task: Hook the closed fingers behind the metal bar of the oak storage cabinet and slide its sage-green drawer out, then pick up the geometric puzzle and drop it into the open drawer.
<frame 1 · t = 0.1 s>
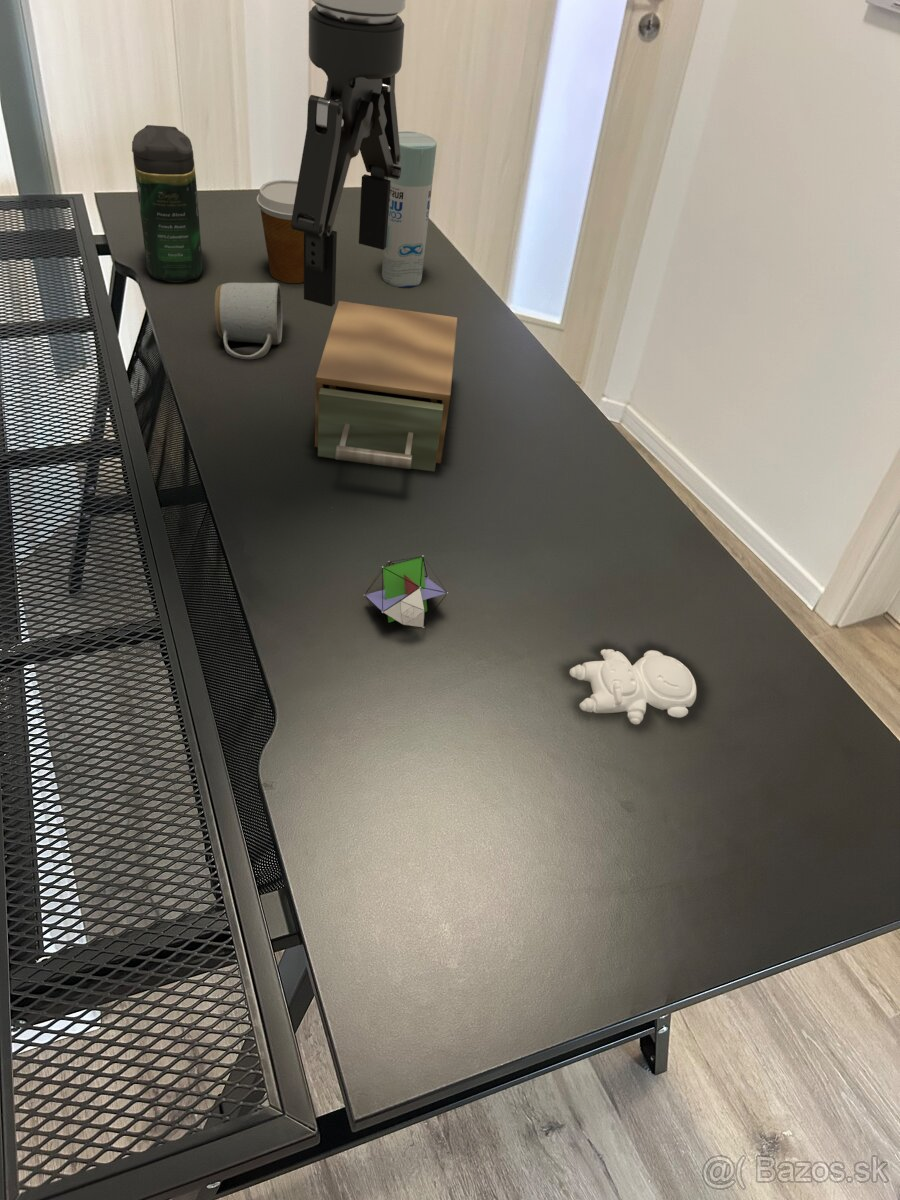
hand: (347, 272, 82), 23 cm above the table, tool pointing down, fingers open, 13 cm apart
coffee jar: (176, 270, 125), on the table
ceramic mug: (252, 345, 113), on the table
geometric puzzle: (402, 618, 83), on the table
disposable coffee cup: (291, 275, 129), on the table
drawer: (383, 407, 98), point 5 cm above the table, slide at 0.5 cm
spray paint can: (401, 279, 132), on the table
cabinet: (385, 419, 105), on the table
astronaut figurine: (629, 691, 80), on the table
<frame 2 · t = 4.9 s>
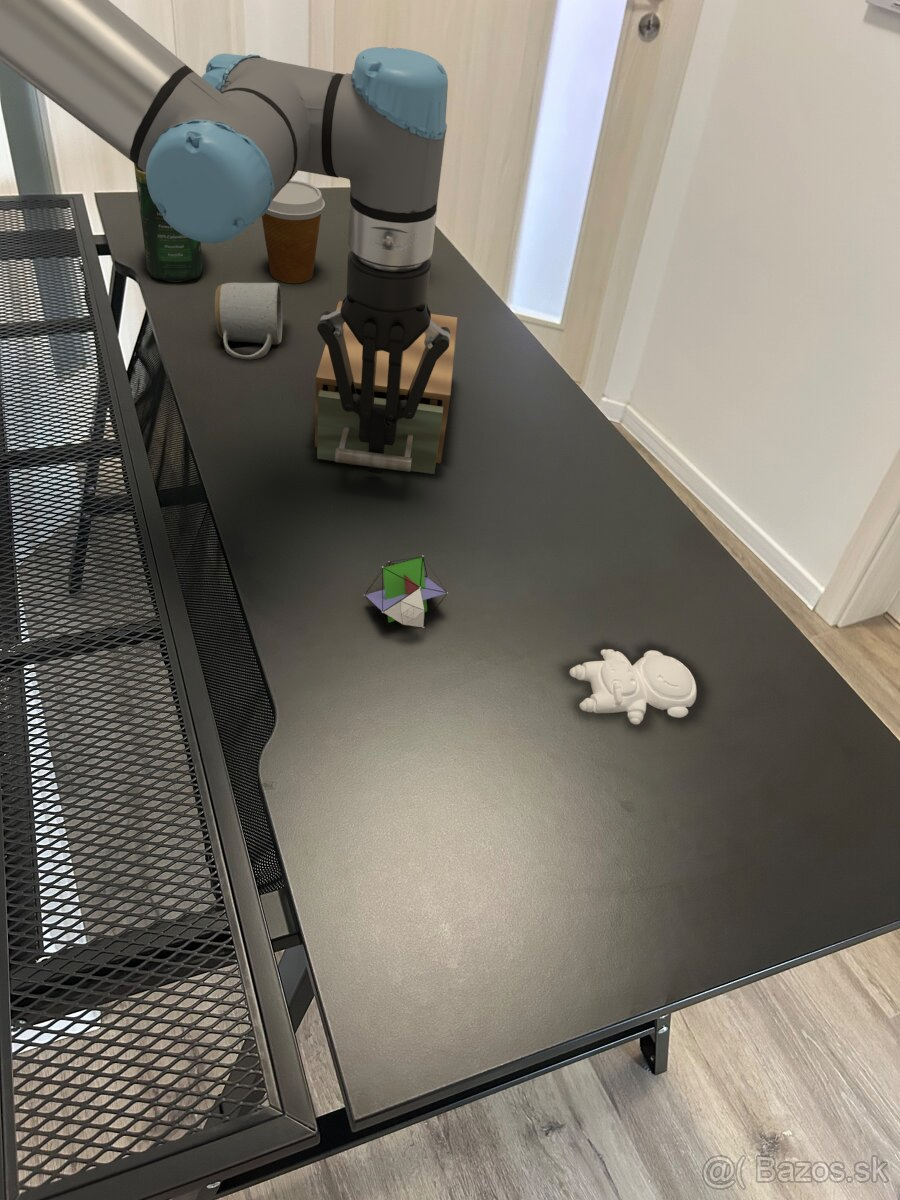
hand: (375, 465, 93), 3 cm above the table, tool pointing down, fingers closed
drawer: (383, 409, 98), point 5 cm above the table, slide at 1.0 cm
everything else where it was.
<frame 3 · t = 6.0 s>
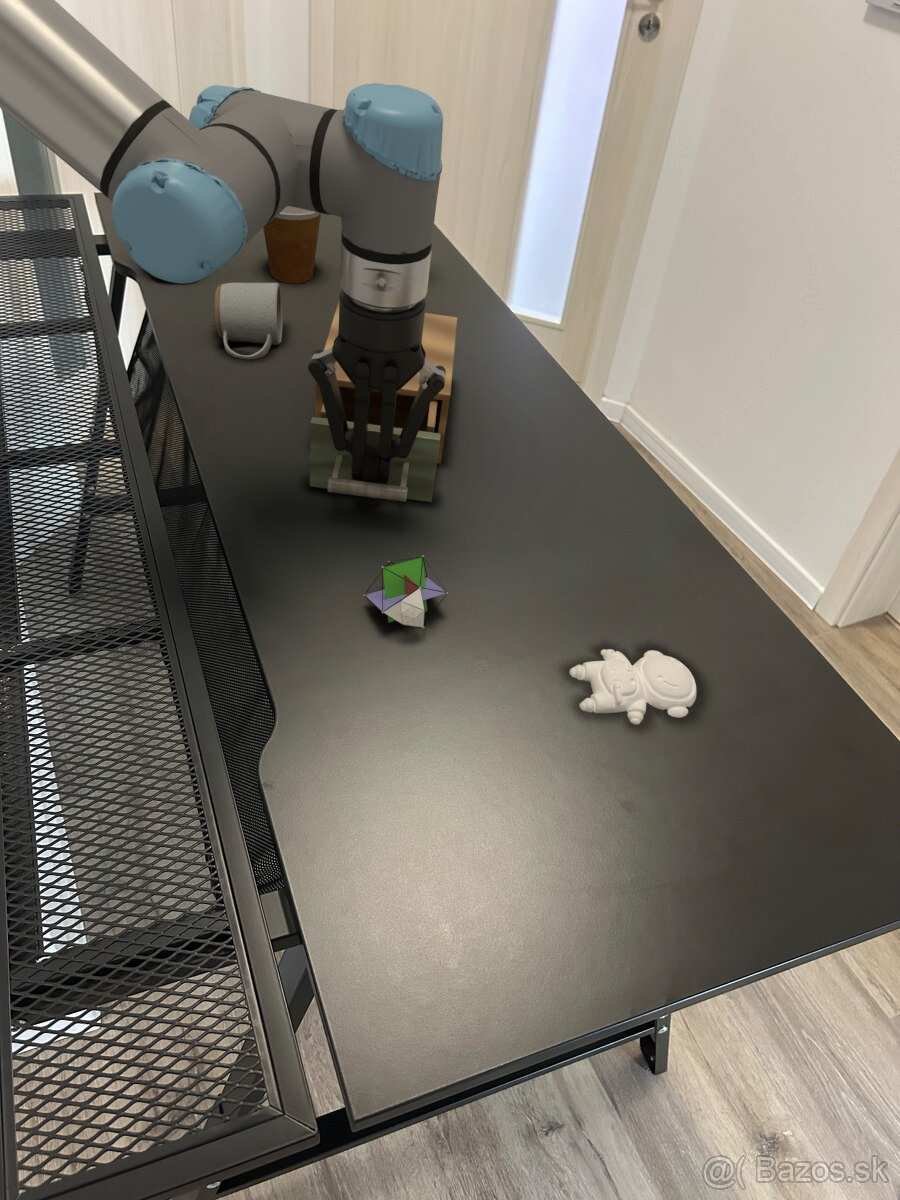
hand: (368, 503, 91), 2 cm above the table, tool pointing down, fingers closed
drawer: (378, 434, 94), point 5 cm above the table, slide at 6.0 cm, touching gripper
everything else where it was.
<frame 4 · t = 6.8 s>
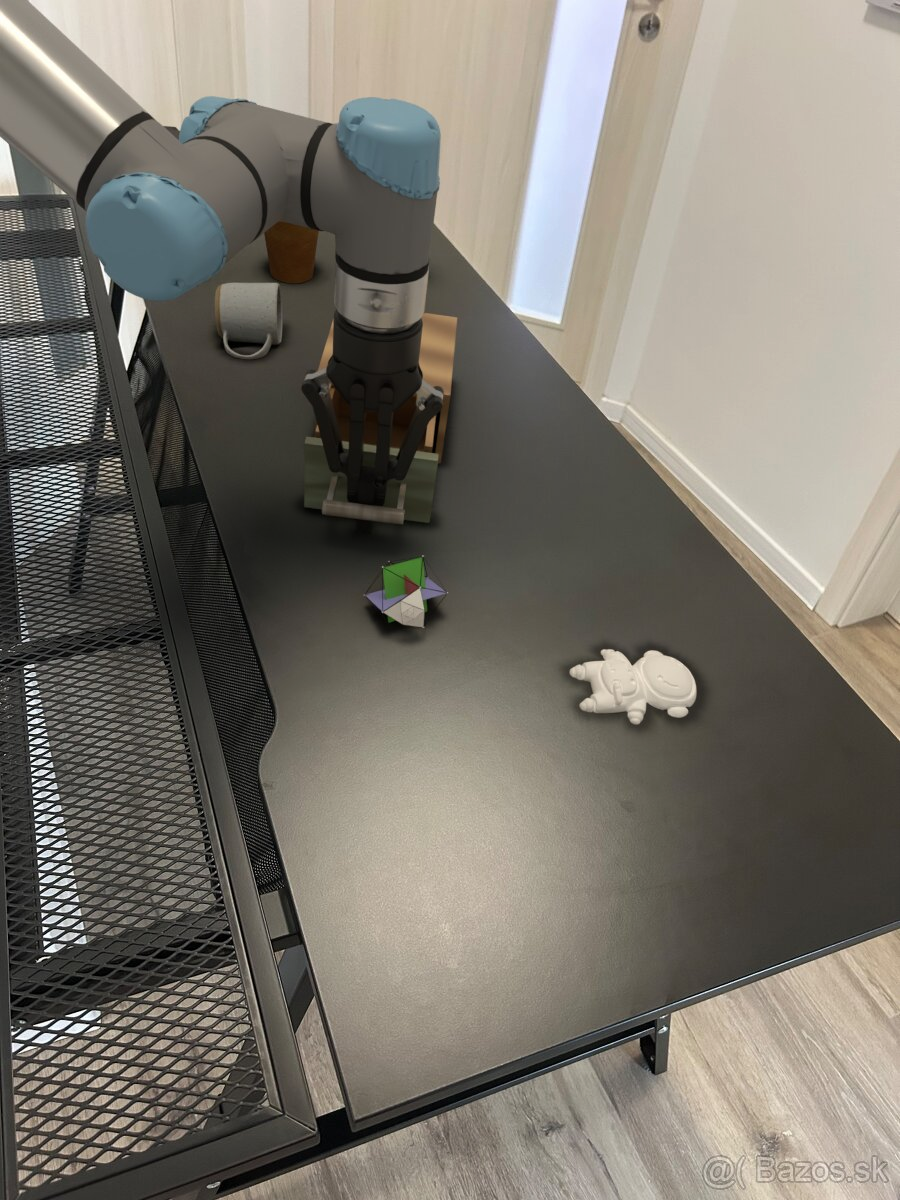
hand: (364, 524, 88), 2 cm above the table, tool pointing down, fingers closed
drawer: (374, 453, 92), point 5 cm above the table, slide at 9.6 cm, touching gripper
everything else where it was.
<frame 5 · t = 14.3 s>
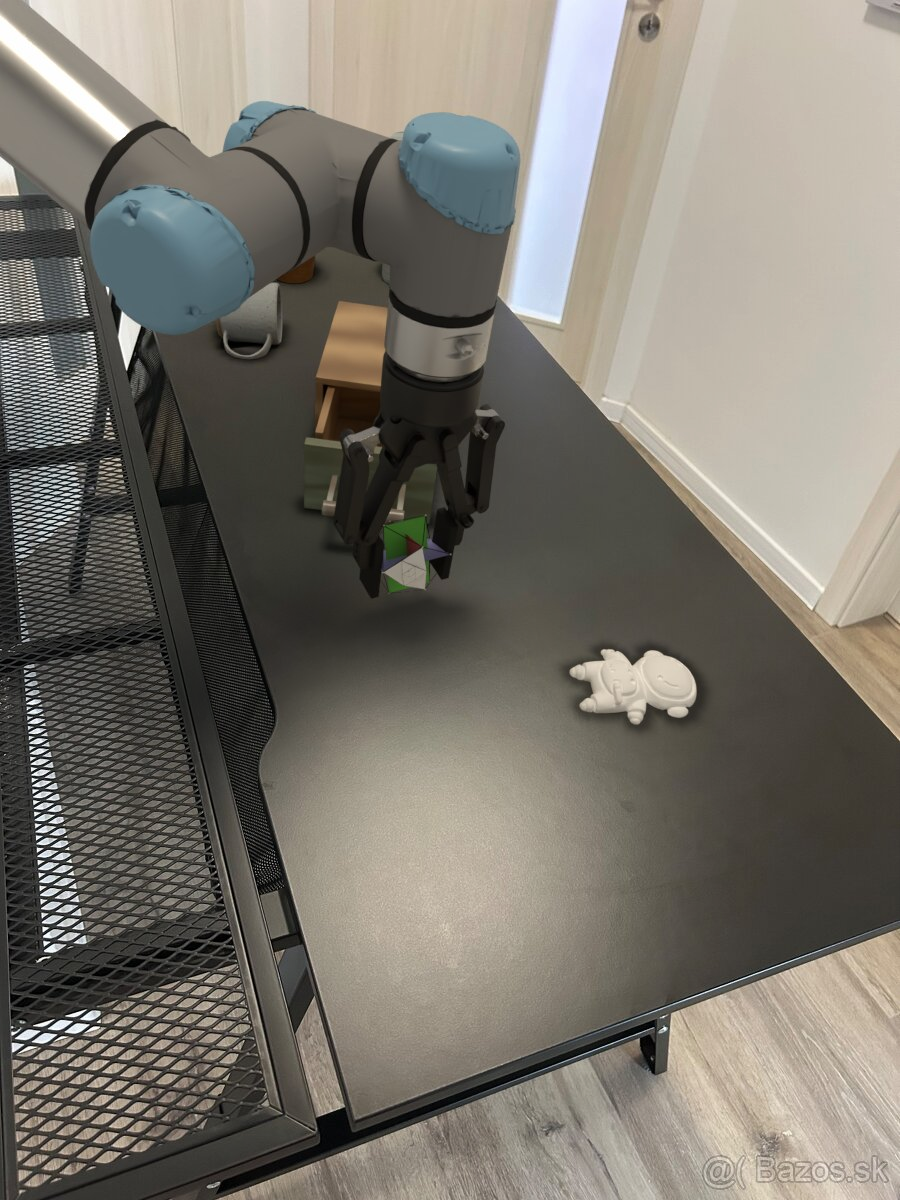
hand: (404, 578, 79), 5 cm above the table, tool pointing down, fingers closed on geometric puzzle, 6 cm apart
geometric puzzle: (403, 580, 79), point 5 cm above the table, touching gripper
drawer: (374, 454, 91), point 5 cm above the table, slide at 9.7 cm
everything else where it was.
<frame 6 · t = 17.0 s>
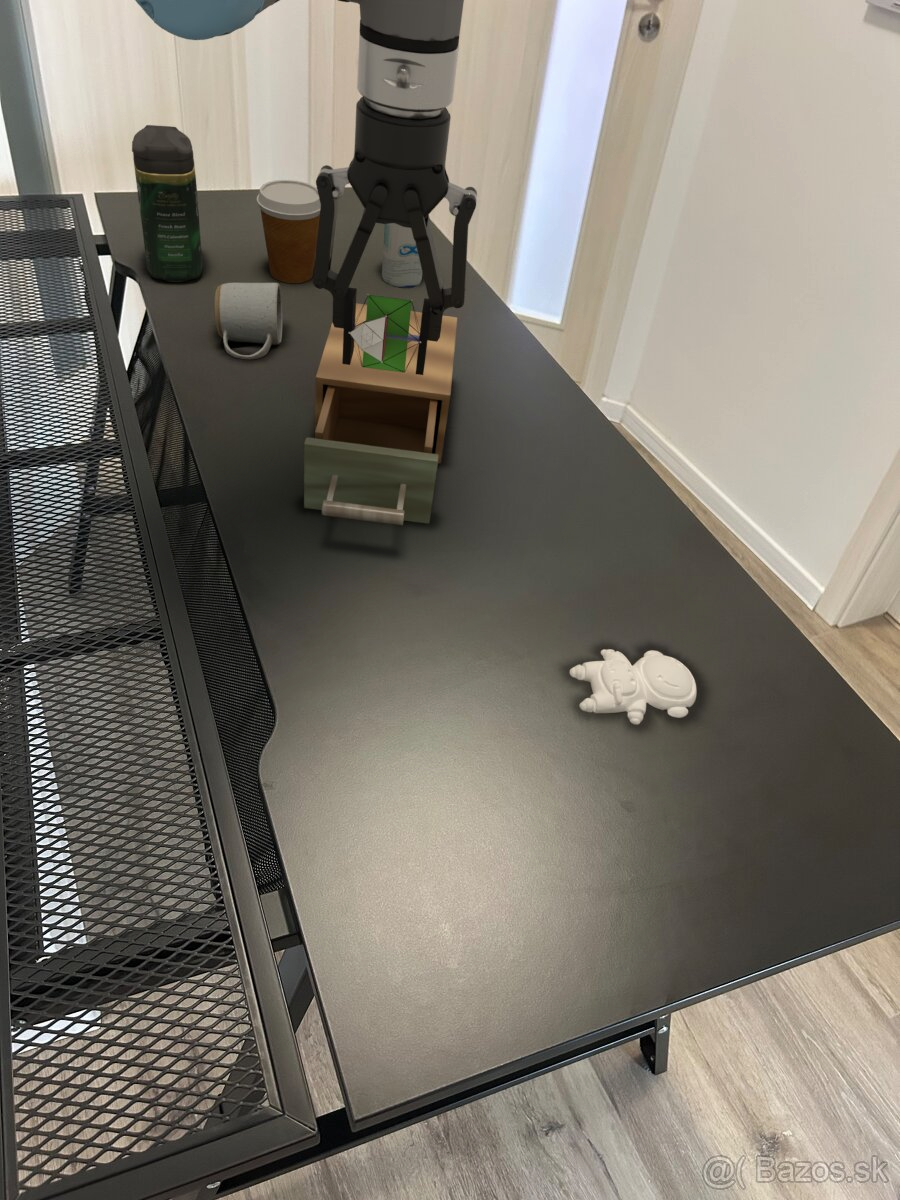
hand: (384, 362, 84), 16 cm above the table, tool pointing down, fingers closed on geometric puzzle, 6 cm apart
geometric puzzle: (384, 365, 84), point 16 cm above the table, touching gripper
everything else where it was.
when the fingers open (7 cm above the table, at t = 20.5 s): geometric puzzle stays where it is, resting on drawer.
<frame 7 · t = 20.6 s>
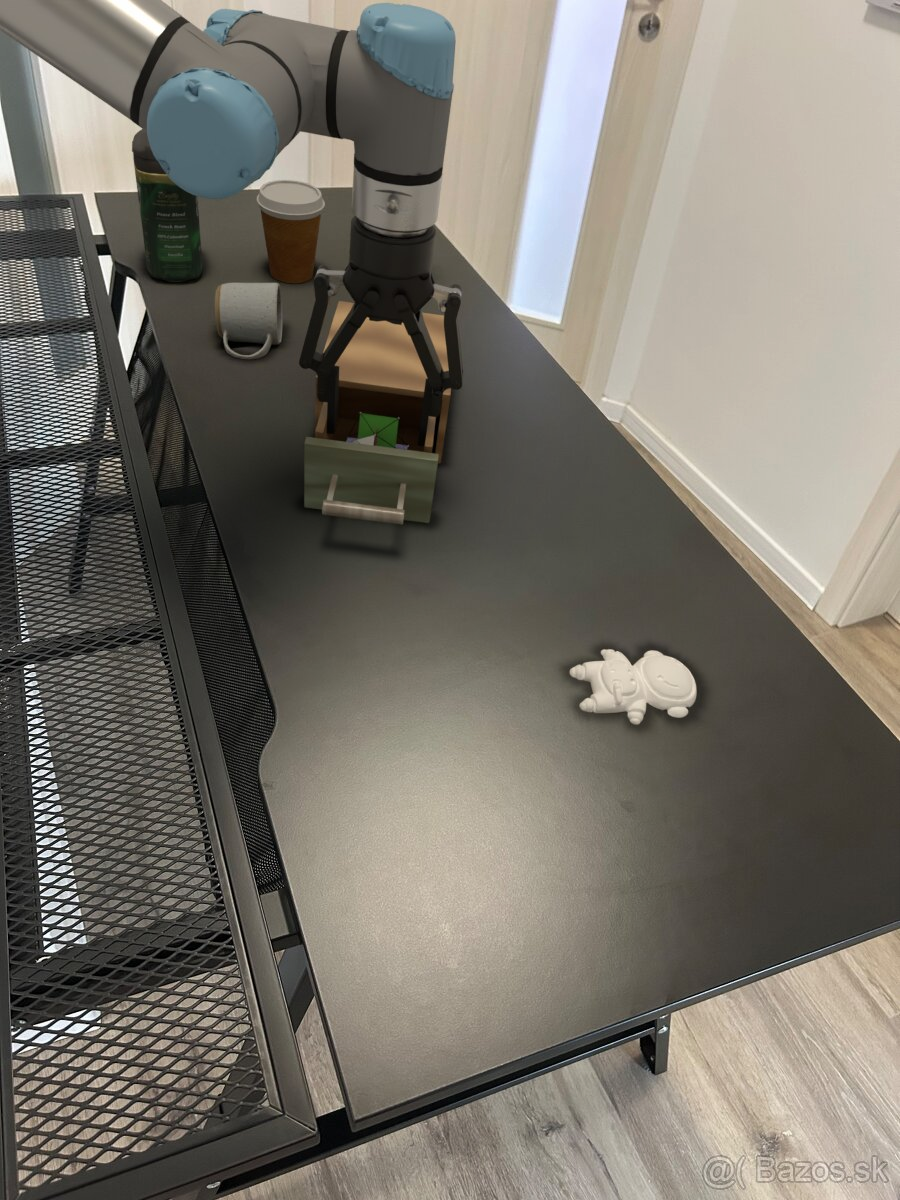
hand: (377, 432, 91), 7 cm above the table, tool pointing down, fingers open, 9 cm apart
geometric puzzle: (374, 471, 95), point 2 cm above the table, touching drawer
drawer: (374, 454, 92), point 5 cm above the table, slide at 9.6 cm, touching geometric puzzle
everything else where it was.
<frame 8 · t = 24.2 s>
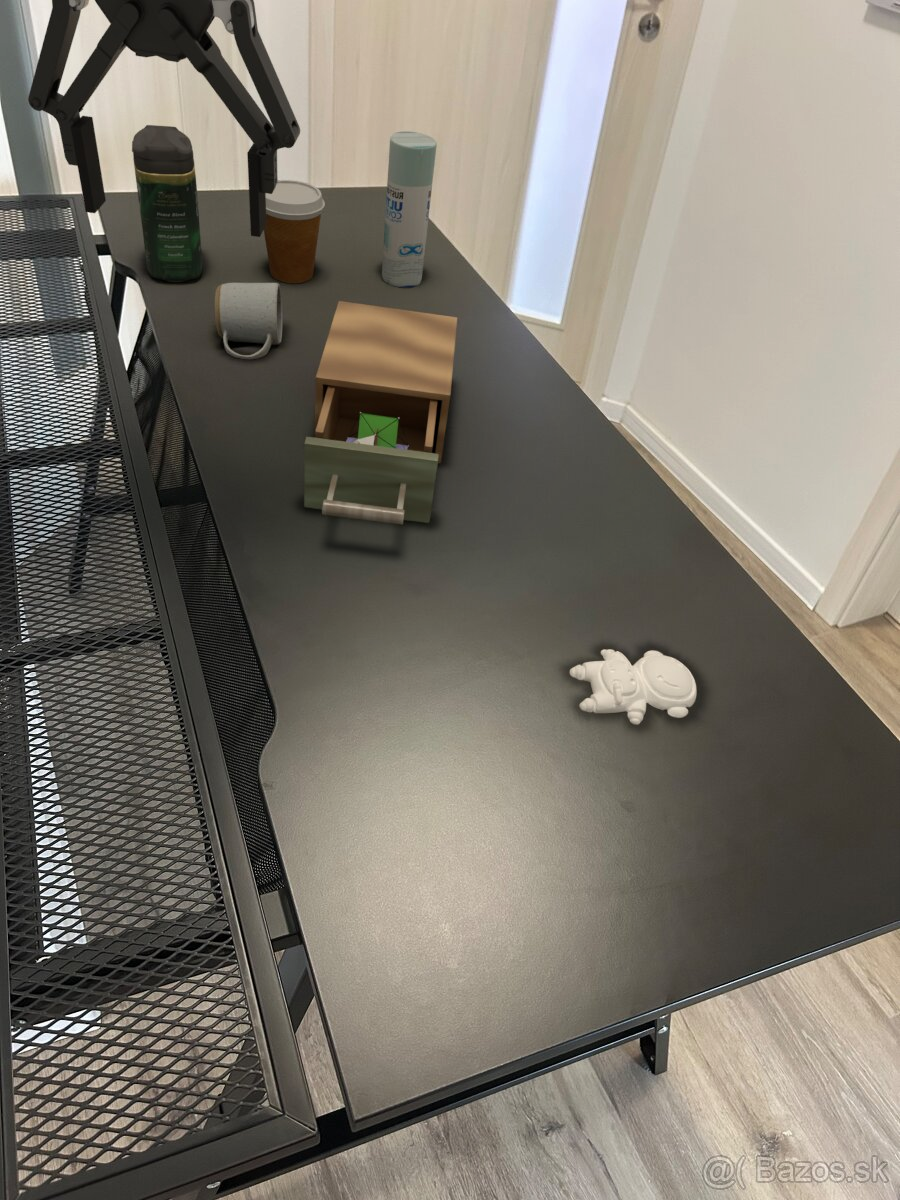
hand: (177, 218, 72), 29 cm above the table, tool pointing down, fingers open, 13 cm apart
nothing on the table moved.
at the end: drawer slide at 9.6 cm; geometric puzzle inside the target area in the drawer (0.5 cm from its centre), point 1.8 cm above the cabinet's base; the gripper is holding nothing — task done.
